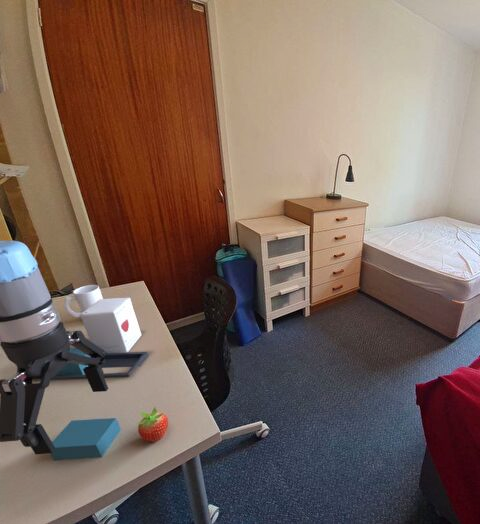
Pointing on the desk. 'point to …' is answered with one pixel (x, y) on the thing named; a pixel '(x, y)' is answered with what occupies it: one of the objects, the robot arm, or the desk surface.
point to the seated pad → (73, 365)
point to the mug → (84, 298)
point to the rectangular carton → (112, 324)
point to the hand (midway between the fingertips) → (76, 417)
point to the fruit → (153, 426)
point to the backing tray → (114, 365)
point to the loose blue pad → (85, 439)
